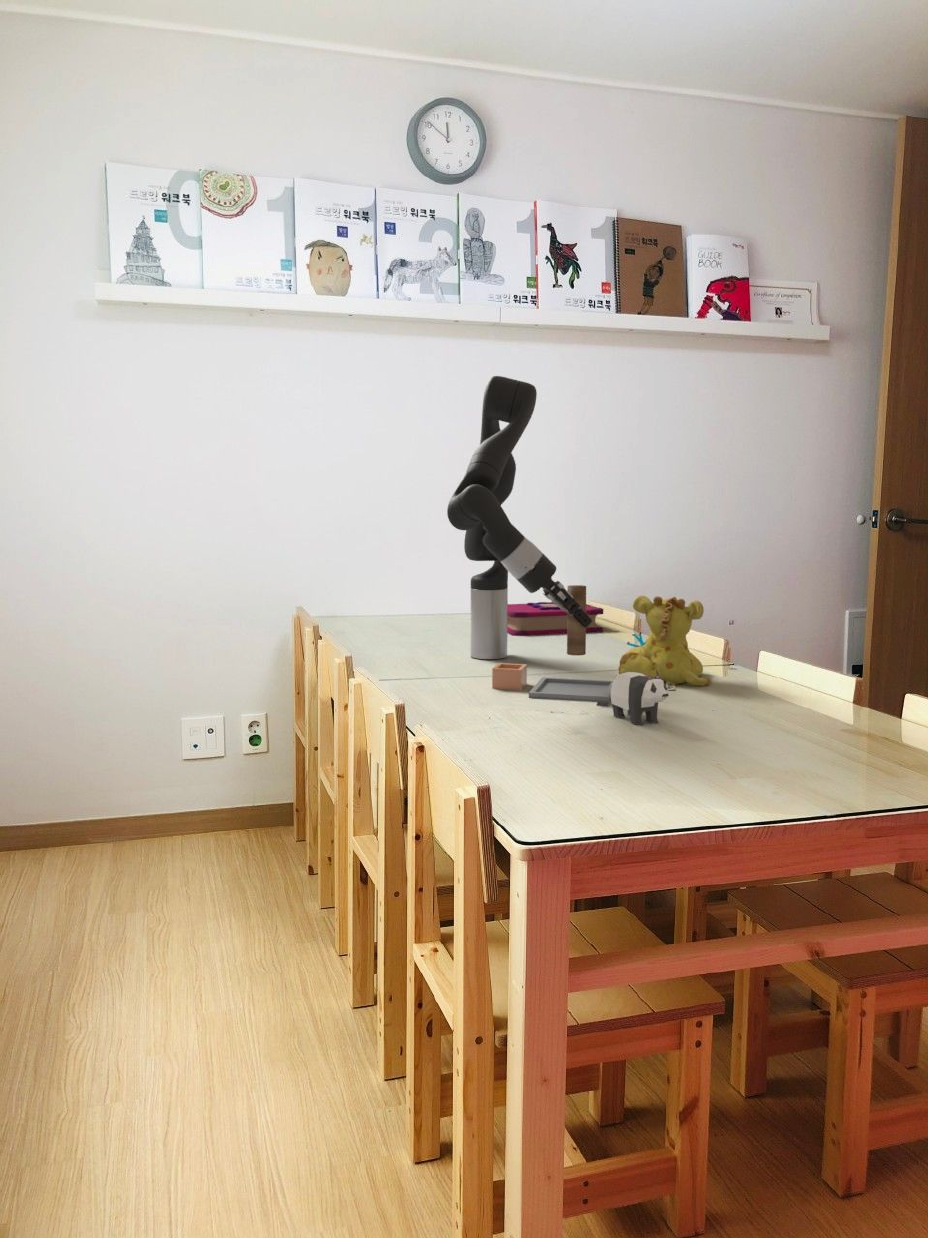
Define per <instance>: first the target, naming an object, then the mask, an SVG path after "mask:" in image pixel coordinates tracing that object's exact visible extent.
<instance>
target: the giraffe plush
mask: <svg viewBox="0 0 928 1238" xmlns="http://www.w3.org/2000/svg"><path fill="white" fill-rule="evenodd" d="M652 600H653V602H652V601H651V599H650V598H649V597H647V596H645V595H638V596H637V597H636V598H635V599H634V600H633V603H632V608H633V610H634V611H635V612H636V613H639V614H643V615H645V621H646V623H647V625H648V627H649V630H650V631H651V632H650V633H649V635H648V637H647V638H648V639H646V640H647V642H646V644H645V645H644V646H640V645H639V646H640V647H636V648H635V647H633V648H630V649H629V650H627V652H625V653H624V654H622V656H621V657H620V660H619V665H618V675H619V674H622V673H626V672H637V673H641V674H643V675H645V676H647V677H648V676H651V677H652V679H654V678H655V676H656V675H660V678H659V679H661V680H663V681H664V683H665V685H666V687H667V691H675V690H676V685H678V684H684V683H688V684H690V685H692V686H693V685H694V686H697V687H705V686H706V687H707V686H710V684H712V679H710V678H707V677H700V676H701V675H703V672H704V671H703V670H704V667H703V664H702V662H701V661H700V660H699V658H698V657H697V656H695V655H694V654H693V653H691V652H690V650H689V644H688V641H687V635H688V634H689V632H690V630H691V628H692V625H693V624H692V623H693V621H694V620H700V619H701V618H702V617H703V615H704V610H705V609H704V606H703V604H702V602H701V601H699V600H692V601H691V602H690V603H688V606H686V601H685V599H683V598H678V599H677V597H676V596H672V597H670V598H665V599H663V597H661V596H657V595H656V596H655V597H654V598H653V599H652Z"/></svg>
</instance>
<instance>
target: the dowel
mask: <svg viewBox="0 0 928 1238" xmlns="http://www.w3.org/2000/svg"><path fill="white" fill-rule="evenodd" d="M567 591H568V592H569V593H570V594H571V595H572V596H573V599H574V600H575V601H576V602H577V603H578V604H579V605H580V607H581V609H582V610H583V611H584V612H585V613H586V604H587V586H586V585H583V584H581V585H577V584H575V585H567ZM573 605H574V604H573V603H572V602H571V603H570V604H569V606H568V608H569V609H570V608H571V607H572V606H573ZM566 635H567V636H566V654H567V655H569V656H585V655H586V654H587V653H586V650H587V649H586V647H587V646H586V644H587V641H586V640H587V639H586V638H587V633H586V628H585V627H583V626H582V625H581V624H580V623H579V622H578V621H577V620H576V619H575V618H574V617H573V616H571V615H569V613H568V612H567V634H566Z"/></svg>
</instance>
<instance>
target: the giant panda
mask: <svg viewBox="0 0 928 1238" xmlns="http://www.w3.org/2000/svg"><path fill="white" fill-rule="evenodd" d="M659 678H660V675H656V676H655V678H654V679H652V677H651V676H648V677H647V676H645V675H643V674H641V673H637V672H626V673H622V674H619V673H618V675H616V677H615V678H614V680H612V681H613V683H612V688H611V701H610V703H611V706H612V711H613V712H612V713H613V717H615V718H618V719H625V718H626V714H625V712H624V710H627V715H628V716H629V717H630V718H629V719H630V723H631V724H632V725H634V726H637V725H640V726H644V722H643V720H642V716H643V714H644V712H645V722H646V723H649V722H650V723H649V724H652V723H655V724H659V719H658V710H659V703H661V702H664V701H665V700H667V699H668V698H669V693H668V690H667V687H666V682H664V681H663V680H661V679H659Z"/></svg>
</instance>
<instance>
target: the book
mask: <svg viewBox="0 0 928 1238" xmlns="http://www.w3.org/2000/svg"><path fill="white" fill-rule="evenodd" d="M586 614H587V615H588V616H589V617H590V618H591V619H592V622H591V623H590V624H589V625H588V627H586V634H587V633H591V634H592V633H603V632H604V627H602V626H599V625H597V624H596V618H597V616H598V615H604V608H603V607H597V606H594V605H591V604H587V603H586ZM565 634H566V635H567V613H566V612H564V610H563V609H561V608H560V607H557V606H556V605H555V604H554V603H553V602H552V601H551V602H550V601H549V602H547V601H539V602H527V603H510V604H509V603H508V623H507V635H510V636H514V637H524V636H525V637H526V636H542V635H565Z"/></svg>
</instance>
